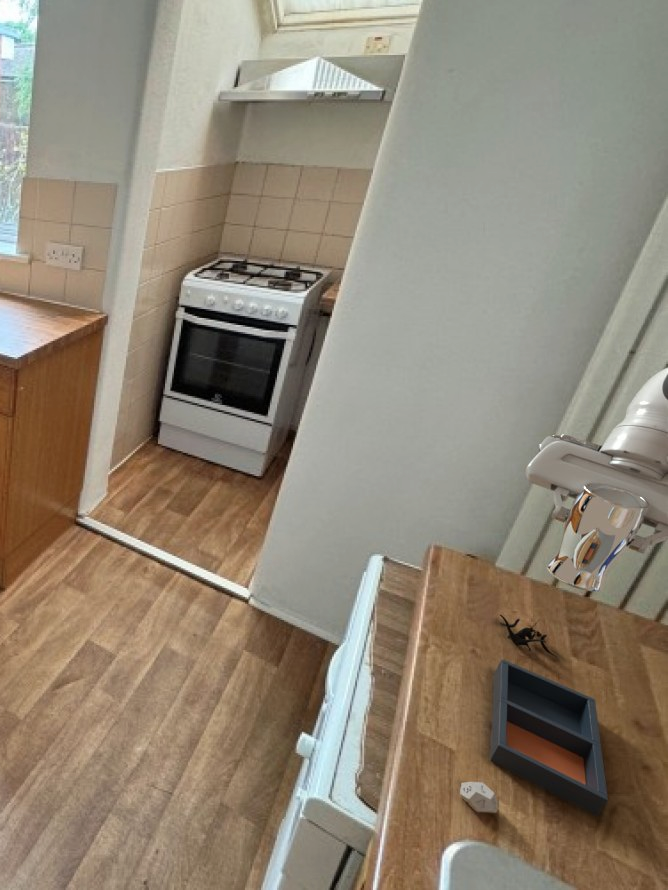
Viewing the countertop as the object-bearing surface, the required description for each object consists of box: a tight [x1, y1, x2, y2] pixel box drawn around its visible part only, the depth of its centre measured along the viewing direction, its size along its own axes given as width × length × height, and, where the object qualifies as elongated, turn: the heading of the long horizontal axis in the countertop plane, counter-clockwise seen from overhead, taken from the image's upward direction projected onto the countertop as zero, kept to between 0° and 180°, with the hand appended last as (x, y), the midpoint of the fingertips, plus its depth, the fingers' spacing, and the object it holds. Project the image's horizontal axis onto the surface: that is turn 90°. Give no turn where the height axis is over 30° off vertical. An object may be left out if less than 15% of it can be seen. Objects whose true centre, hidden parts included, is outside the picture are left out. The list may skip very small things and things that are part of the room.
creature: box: [499, 614, 558, 659], centre depth 100 cm, size 8×5×8 cm
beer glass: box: [545, 482, 650, 592], centre depth 89 cm, size 7×7×15 cm
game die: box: [459, 781, 499, 814], centre depth 76 cm, size 4×4×3 cm
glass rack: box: [489, 658, 609, 817], centre depth 84 cm, size 19×10×4 cm, turn 136°
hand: (595, 534), depth 88 cm, fingers closed on beer glass, 7 cm apart
